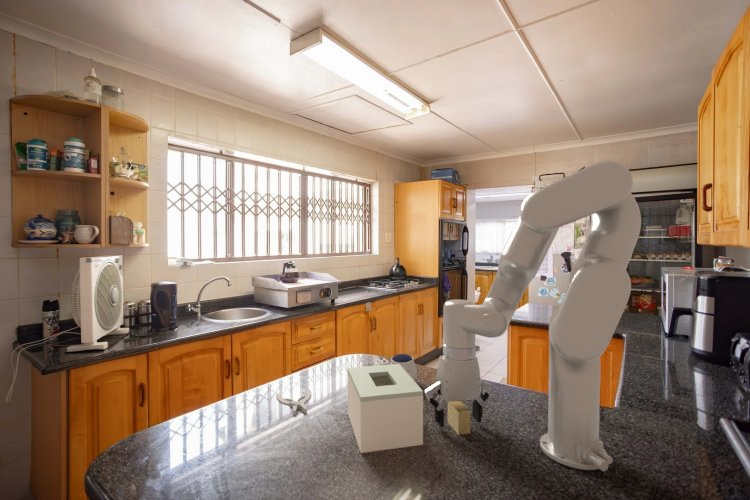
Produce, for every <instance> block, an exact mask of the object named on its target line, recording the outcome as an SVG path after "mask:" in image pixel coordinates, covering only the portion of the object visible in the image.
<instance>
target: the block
mask: <svg viewBox="0 0 750 500" xmlns="http://www.w3.org/2000/svg"><path fill="white" fill-rule="evenodd" d="M447 423H448V425H449V426H450V427H451V428H452V429H453V430H454V432H455V431H456V432H455V433H456V434H457V435H458V436H461V435H460V434H462V435H469V434H471V410H470V408H469V407H468V406H466V405H465V403H463V402H462V401H454V402H447ZM468 433H469V434H468Z"/></svg>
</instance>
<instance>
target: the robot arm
mask: <svg viewBox="0 0 750 500" xmlns="http://www.w3.org/2000/svg"><path fill="white" fill-rule="evenodd" d="M633 180H634V179H633V175H632V173H631V171H630V170H629V169H628V167H626V166H625V165H624V164H622V163H621V162H617V161H613V160H612V161H611V160H607V161H605V160H604V161H599V162H596V163H593V164H591V165H588V166H586V167H585V168H582V169H580V170H577V171H575V172H574V173H571V174H569V175H567V176H565V177H563V178H560V179H558V180H557V181H554V182H552V183H549V184H548V185H546V186H543V187H541V188H538V189H537V190H534V191H533V192H531V193H529V194H528V195H527V196H526V197H525V198H524V199H523V201H522V203H521V205H520V209H519V215H518V217H517V220H516V222H515V223H514V226H513V228H512V231H511V233H510V235H509V237H508V239H507V241H506V243H505V245H504V247H503V249H502V251H501V254H500V257H499V260H498V268H497V271H496V274H495V277H494V280H493V282H492V284H491V286H490V289H489V290H488V292H487V295H486V297H485V299H484V301H483V303H481V304H475V303H473V301H470V300H467V299H459V298H458V299H457V298H456V299H449V300H447V301H445V302H444V304H443V310H442V311H443V312H442V313H443V316H442V317H443V318H442V320H443V321H442V324H443V325H442V329H443V331H442V332H443V334H442V335H443V337H442V342H443V343H442V355H439V358H438V363H437V369H436V377H435V383H433V384H431V386H429V387H427V388H425V389H424V390H423V394H424V395H425V396H426V399H427V401H428V402H429V403H430V404H431V405H432V407H434V421H435V422H436V423H437V425H438V426H439V427H440V428H444V426H445V411H444V409H443V408H444V407H445V406H446V404H448V402H454V401H461V402H462V401H463V402H464V401H470V400H473V401H472V403H471V404H472V408H471V409H472V415H471V416H472V418H473V419H474V420H475V421H476V422H477V423H482V417H483V407H484V405H485V402H486V401H487V400H488V398H490V394H491V391H492V389H493V385H492V384H490V383H489V382H487V381H485V380H482V379H481V378H482V377H481V371H480V364H479V360H478V359H479V358H478V356H476V355H477V353H478V352H479V351H480V350H481V347H480V346H479V345H476V336H477V335H478V336H482V337H485V338H492V339H494V338H499V337H502V336H503V335H504V334H505V333H506V331H507V330H508V327H509V325H510V323H511V321H512V319H513V316H514V315H515V313H516V310H517V308H518V306H519V304H520V301H521V300H522V298H523V296H524V294H525V292H526V290H527V288H528V286H529V285H530V283H531V282H533V280H534V278H535V277H537V274H538V272H539V270H540V268H541V266H542V264H543V262H544V260H545V258H546V255H547V254H548V252H549V249H550V248H551V246H552V244H553V242H554V240H555V238H556V236H557V234H558V232H559V230H560V228H561V227H563V226H566V225H569V224H571V223H574V222H576V221H578V220H582V219H583V218H584V219H585V218H587V217H589V216H590V226H589V229H588V232H587V235H586V236H585V237H586V238H585V240H584V244H583V246H582V248H581V250H580V253H579V255H578V258H577V260H576V261H575V264H574V265H573V267H572V269H571V270H570V272H569V277H568V280H569V281H568V282H569V285H568V287H567V289H566V292H565V294H564V297H563V300H562V303H561V304H560V306H559V307H557V308H556V309H554V310H553V312H552V314H551V315H550V318H549V321H548V322H549V323H548V354H549V355H548V401H547V402H548V405H547V407H548V409H547V411H548V413H547V432H546V433H545V434H543V435H542V436H541V437H540V438H539V439H540V440H539V447H540V449H541V451H542V452H543V453H544V454H545V455H546V456H547V457H549V459H552V460H553V461H555V462H557V463H559V464H560V465H564V466H566V467H569V468H573V469H577V470H584V471H585V470H586V471H596V470H600V471H602V472H606V471H608V469H609V465H612V463H613V462H614V458H612V456H610V455H609V454H608V453H607V451H606V450H605V449H604V442H603V441H602V440H600V399H601V398H600V397H601V396H600V394H601V392H600V391H601V356H603V354H604V353H605V351H606V350H607V348H608V346H609V344H610V342H611V340H612V338H613V335H614V334H615V331H616V329H617V327H618V324H619V322H620V320H621V318H622V316H623V315H624V312H625V310H626V307H627V304H628V302H629V300H630V299H629V298H630V296H631V291H632V282H631V281H632V280H631V277H630V275H629V273H628V271H627V268H628V265H629V262H630V260H631V258H632V256H633V253H634V250H635V248H636V245H637V242H638V240H639V236H640V233H641V229H642V215H641V210H640V207H639V205H638V201H636V198H635V196H634V195H633V194H632V192H631V191H632V188H633V185H634V181H633ZM482 387H483V390H482ZM435 393H436V394H437V396H436V398H434V396H433V395H434V394H435Z"/></svg>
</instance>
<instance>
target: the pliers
mask: <svg viewBox="0 0 750 500" xmlns="http://www.w3.org/2000/svg"><path fill="white" fill-rule="evenodd" d="M311 396H312V391H311V389H310V388H308V387H307V388H306V394H305V395H303V396H300V397H299V398H298V399H297V400H296V401H295V399H291V398H287V397H286V398H284V397H282V396H281V394H279V392H276V396H275V397H276V399H277V401H278V402H280V403H281V404H282V405H285V406H286V405H287V406H289V407H292V415H293V416H296V415H297V411H298V410H300V411H301V412H302V413H303V414H307V413H308V409H307V406H306V405H305V404H306V403H307V402H308V401H309V400H310V399H311Z"/></svg>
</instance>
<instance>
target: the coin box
mask: <svg viewBox="0 0 750 500" xmlns="http://www.w3.org/2000/svg"><path fill="white" fill-rule="evenodd" d="M347 415H348V418H349V421H350V424H351V428H352V430H353V434H354V436H355V440H356V443H357V446H358V449H359V453H360V454H363V453H372V452H380V451H385V450H386V451H387V450H394V449H401V448H408V447H415V446H416V447H417V446H423V444H424V390H423V389H422V388H421V387H420V386H419V385H418V384H417V382H416V381H415V379H414V380H413V379H412V378H411V377H410V375H409V374H408V373H407V372H406V371H405V370H404V369H403V367H402V366H401V365H400V364H391V365H378V366H367V365H366V366H356V367H347Z"/></svg>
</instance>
